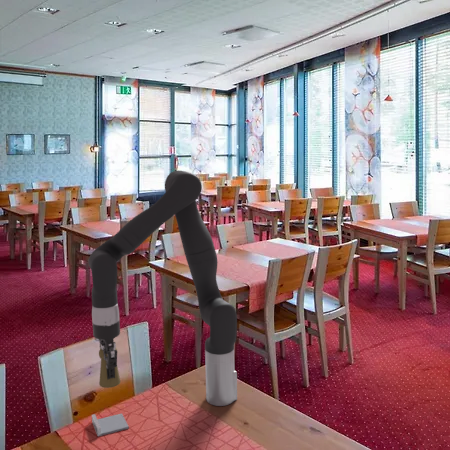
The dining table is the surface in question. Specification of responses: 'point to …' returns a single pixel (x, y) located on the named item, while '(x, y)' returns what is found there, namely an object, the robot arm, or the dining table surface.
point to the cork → (103, 374)
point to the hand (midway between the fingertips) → (109, 375)
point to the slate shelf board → (112, 424)
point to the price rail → (96, 425)
